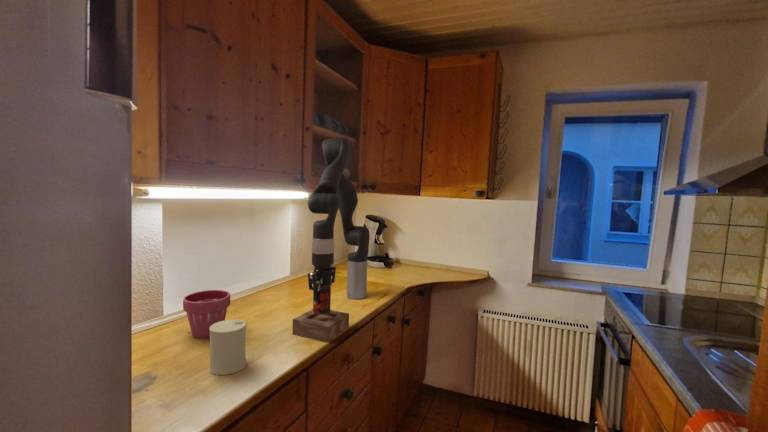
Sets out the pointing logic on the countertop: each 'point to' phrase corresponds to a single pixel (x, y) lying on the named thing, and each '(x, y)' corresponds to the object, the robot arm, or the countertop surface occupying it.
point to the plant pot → (205, 310)
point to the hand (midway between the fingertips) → (322, 298)
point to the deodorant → (324, 294)
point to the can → (227, 346)
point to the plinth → (321, 325)
